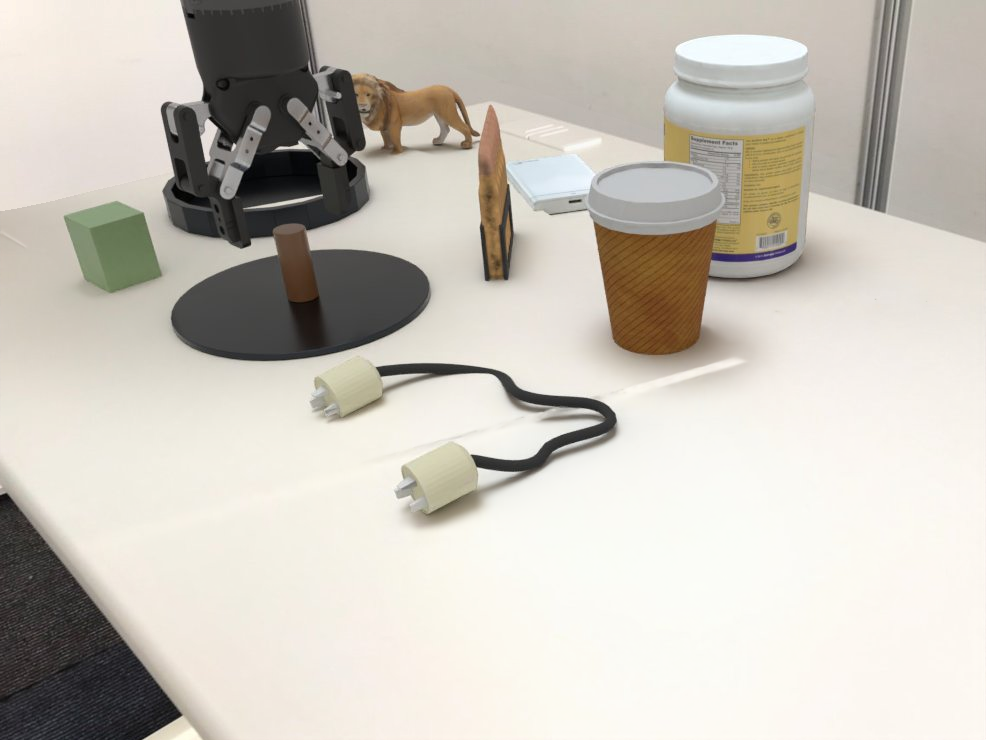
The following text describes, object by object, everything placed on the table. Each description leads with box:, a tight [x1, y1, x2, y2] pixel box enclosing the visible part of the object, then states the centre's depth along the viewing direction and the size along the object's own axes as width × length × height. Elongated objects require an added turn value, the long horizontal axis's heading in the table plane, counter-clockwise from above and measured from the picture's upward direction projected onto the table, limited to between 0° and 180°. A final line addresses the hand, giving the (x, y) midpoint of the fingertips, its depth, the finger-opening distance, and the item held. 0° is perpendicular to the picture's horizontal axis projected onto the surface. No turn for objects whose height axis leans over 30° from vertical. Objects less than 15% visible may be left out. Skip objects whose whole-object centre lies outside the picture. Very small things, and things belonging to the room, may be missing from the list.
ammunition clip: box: [477, 104, 515, 282], centre depth 86 cm, size 11×2×12 cm, turn 3°
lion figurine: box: [351, 72, 481, 156], centre depth 114 cm, size 15×5×9 cm, turn 121°
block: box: [63, 200, 163, 294], centre depth 85 cm, size 4×4×6 cm
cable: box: [308, 355, 618, 515], centre depth 66 cm, size 16×16×4 cm
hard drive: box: [506, 153, 598, 215], centre depth 104 cm, size 2×8×12 cm
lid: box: [170, 224, 431, 361], centre depth 80 cm, size 20×20×7 cm
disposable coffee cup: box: [585, 160, 725, 356], centre depth 73 cm, size 10×10×12 cm
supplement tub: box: [662, 34, 817, 279], centre depth 85 cm, size 12×12×17 cm
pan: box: [161, 148, 370, 239], centre depth 101 cm, size 19×19×3 cm
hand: (290, 228), depth 79 cm, fingers open, 8 cm apart
